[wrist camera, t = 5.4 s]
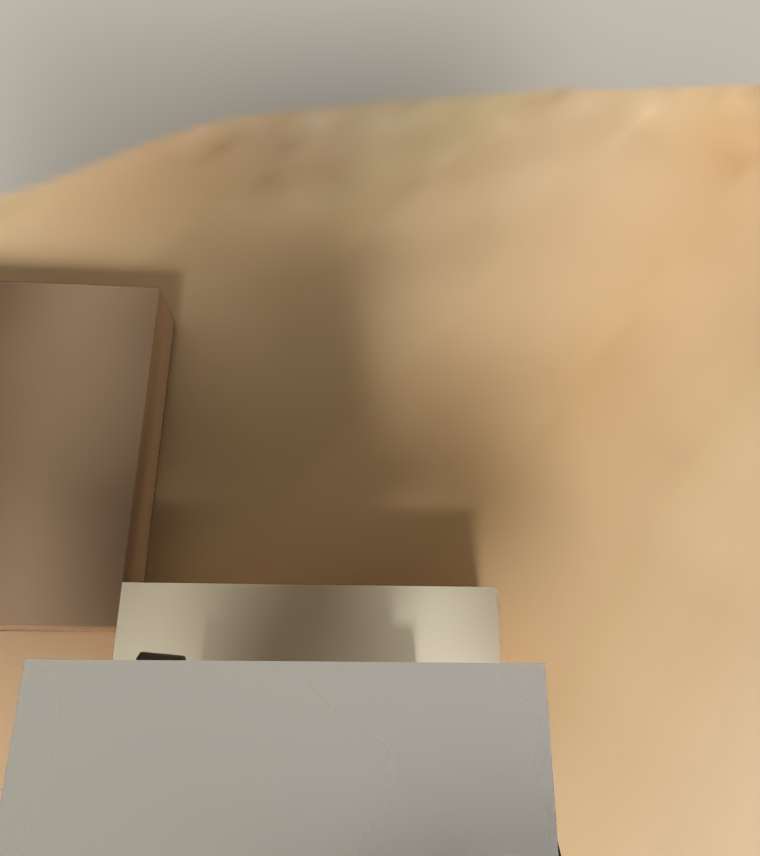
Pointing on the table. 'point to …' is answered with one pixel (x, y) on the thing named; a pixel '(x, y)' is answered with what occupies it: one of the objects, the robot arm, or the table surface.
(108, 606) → the stand
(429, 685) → the block
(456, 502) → the table surface
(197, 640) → the stand
